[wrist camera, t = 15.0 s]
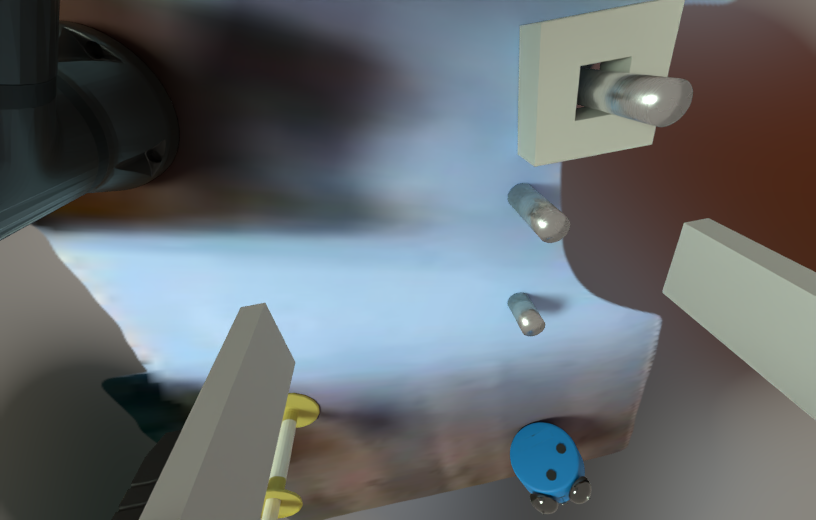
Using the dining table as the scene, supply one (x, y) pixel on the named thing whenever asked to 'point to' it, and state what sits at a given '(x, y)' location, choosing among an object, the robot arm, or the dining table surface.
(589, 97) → the long pin
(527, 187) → the medium pin
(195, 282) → the dining table surface
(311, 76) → the dining table surface
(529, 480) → the alarm clock
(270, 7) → the dining table surface
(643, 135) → the hole block
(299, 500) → the candlestick
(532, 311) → the short pin
